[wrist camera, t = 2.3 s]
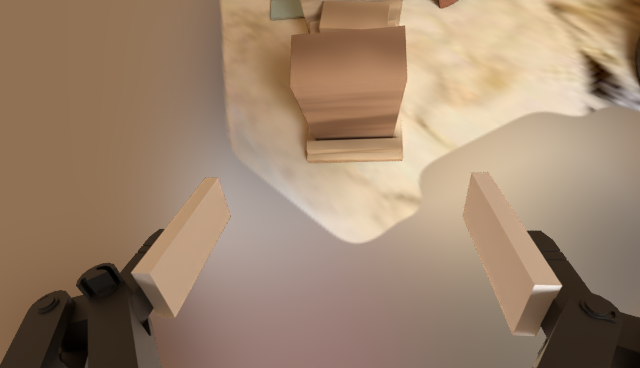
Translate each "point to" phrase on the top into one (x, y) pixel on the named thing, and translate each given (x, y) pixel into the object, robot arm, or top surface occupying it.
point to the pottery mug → (446, 3)
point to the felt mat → (286, 9)
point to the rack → (343, 15)
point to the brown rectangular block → (350, 81)
